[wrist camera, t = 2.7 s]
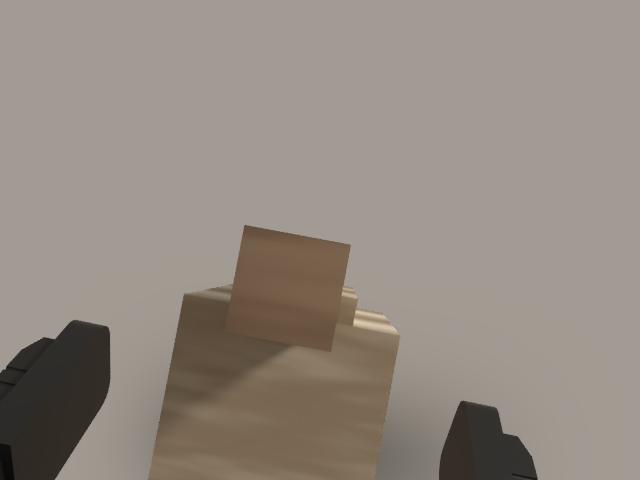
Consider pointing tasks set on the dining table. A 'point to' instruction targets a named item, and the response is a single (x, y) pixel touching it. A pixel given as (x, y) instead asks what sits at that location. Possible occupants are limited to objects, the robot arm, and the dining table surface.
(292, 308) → the block
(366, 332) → the pedestal
